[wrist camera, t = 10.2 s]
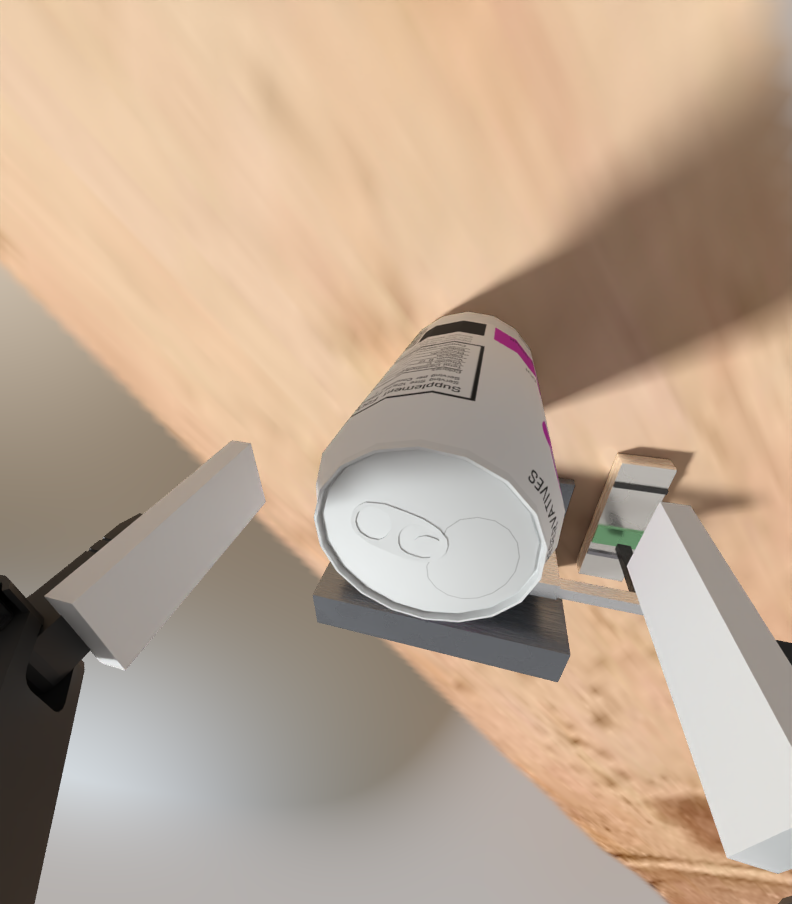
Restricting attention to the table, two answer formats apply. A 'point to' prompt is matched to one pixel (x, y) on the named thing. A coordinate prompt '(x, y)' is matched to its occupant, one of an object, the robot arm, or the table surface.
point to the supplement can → (445, 477)
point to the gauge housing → (536, 618)
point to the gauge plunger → (589, 586)
